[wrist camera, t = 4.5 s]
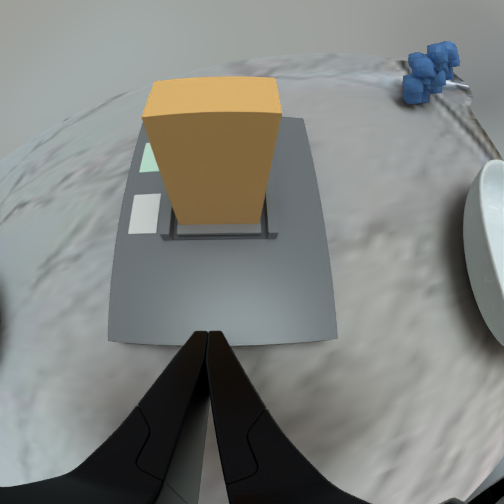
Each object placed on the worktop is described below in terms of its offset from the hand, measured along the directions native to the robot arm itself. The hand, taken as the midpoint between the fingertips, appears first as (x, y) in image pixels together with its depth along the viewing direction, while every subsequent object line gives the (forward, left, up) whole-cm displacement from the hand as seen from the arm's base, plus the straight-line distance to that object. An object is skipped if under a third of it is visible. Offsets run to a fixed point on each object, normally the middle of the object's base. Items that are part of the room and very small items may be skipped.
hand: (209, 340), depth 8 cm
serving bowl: (+24, -18, -10) cm, 32 cm away
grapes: (+40, +3, -10) cm, 41 cm away
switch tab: (+6, +6, -7) cm, 11 cm away
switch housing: (+6, +6, -10) cm, 13 cm away
